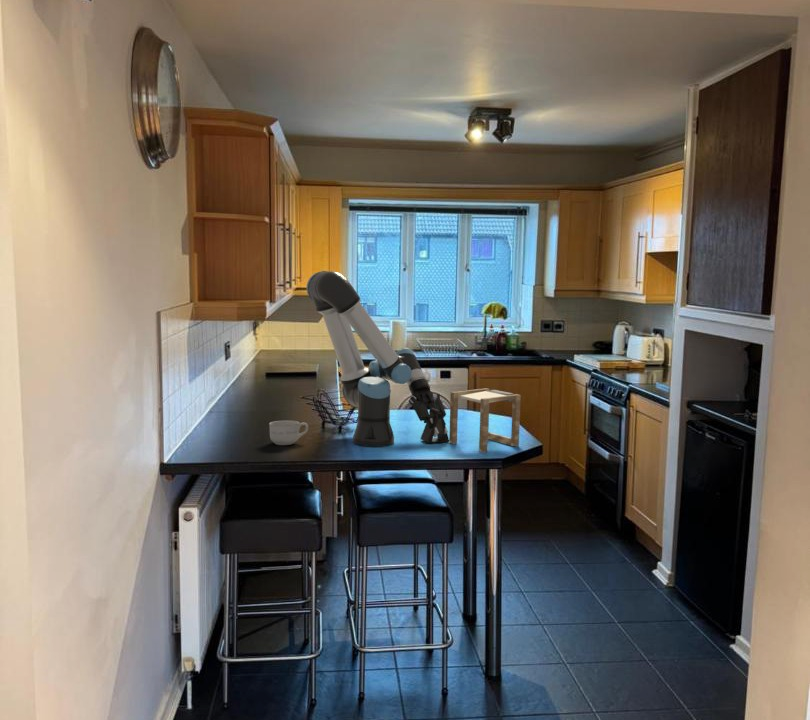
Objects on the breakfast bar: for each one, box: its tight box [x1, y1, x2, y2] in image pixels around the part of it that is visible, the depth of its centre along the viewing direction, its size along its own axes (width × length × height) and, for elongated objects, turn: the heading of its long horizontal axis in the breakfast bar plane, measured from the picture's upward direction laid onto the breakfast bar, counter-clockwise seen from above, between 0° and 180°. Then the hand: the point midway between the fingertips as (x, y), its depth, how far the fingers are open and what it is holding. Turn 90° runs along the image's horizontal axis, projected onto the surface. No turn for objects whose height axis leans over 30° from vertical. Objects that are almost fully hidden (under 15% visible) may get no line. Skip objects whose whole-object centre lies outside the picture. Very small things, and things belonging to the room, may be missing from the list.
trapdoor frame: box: [448, 387, 522, 454], centre depth 264 cm, size 18×18×19 cm
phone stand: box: [420, 408, 449, 444], centre depth 268 cm, size 9×6×12 cm, turn 114°
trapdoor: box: [459, 389, 514, 404], centre depth 264 cm, size 13×16×3 cm
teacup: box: [268, 420, 309, 446], centre depth 260 cm, size 14×11×8 cm
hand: (441, 434), depth 265 cm, fingers closed on phone stand, 3 cm apart
